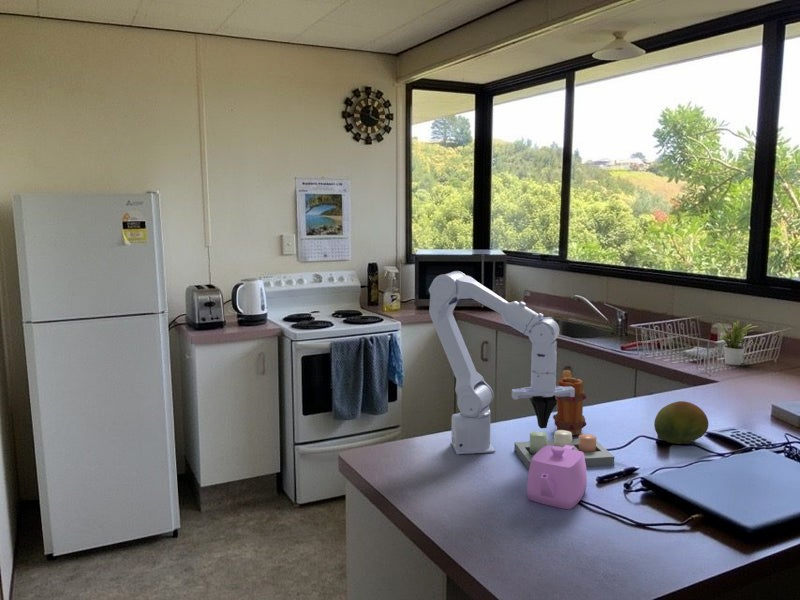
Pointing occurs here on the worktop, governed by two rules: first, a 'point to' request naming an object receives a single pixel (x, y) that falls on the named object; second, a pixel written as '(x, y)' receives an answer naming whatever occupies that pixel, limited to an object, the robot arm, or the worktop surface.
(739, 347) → the house plant
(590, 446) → the button terracotta
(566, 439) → the button cream
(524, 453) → the panel
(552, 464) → the teapot
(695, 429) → the fruit
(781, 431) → the worktop surface
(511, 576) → the worktop surface
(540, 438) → the button sage
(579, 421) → the mug
